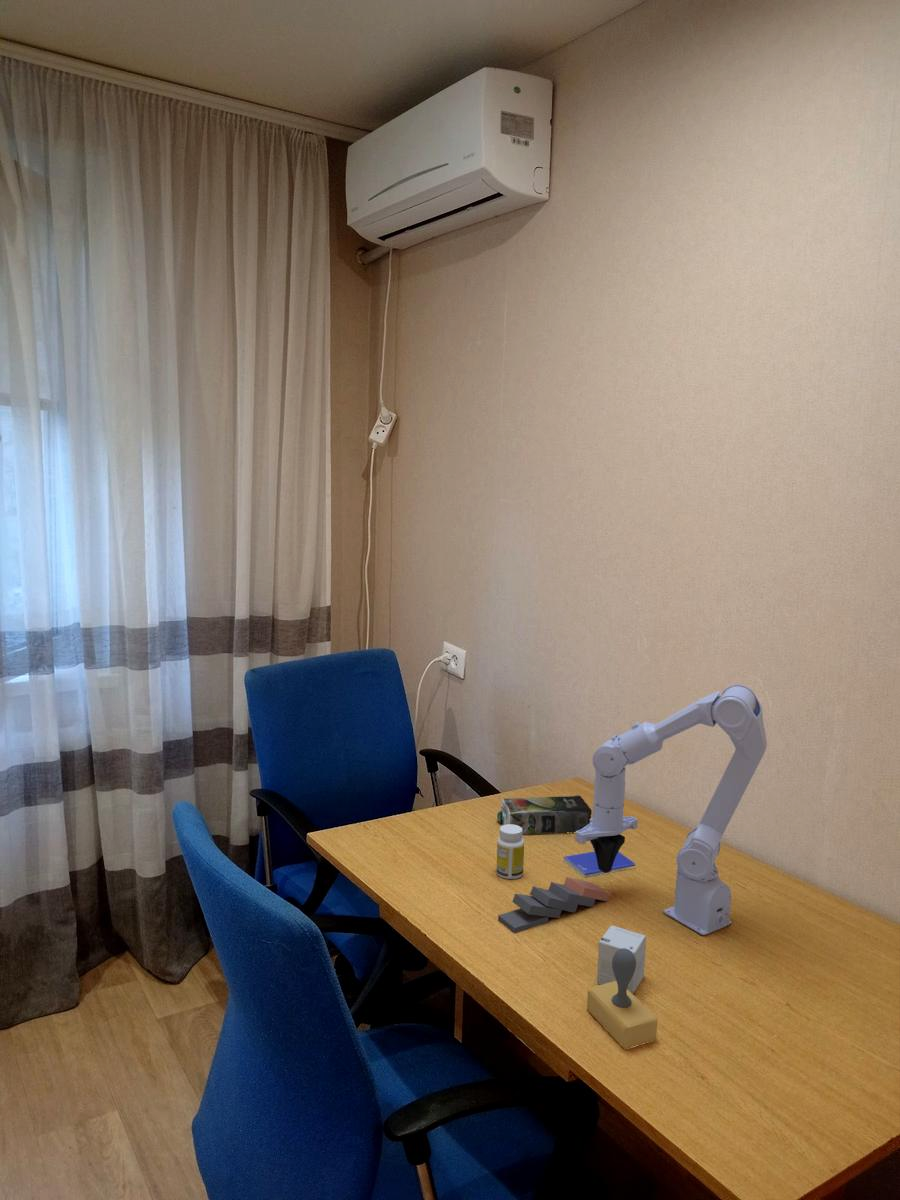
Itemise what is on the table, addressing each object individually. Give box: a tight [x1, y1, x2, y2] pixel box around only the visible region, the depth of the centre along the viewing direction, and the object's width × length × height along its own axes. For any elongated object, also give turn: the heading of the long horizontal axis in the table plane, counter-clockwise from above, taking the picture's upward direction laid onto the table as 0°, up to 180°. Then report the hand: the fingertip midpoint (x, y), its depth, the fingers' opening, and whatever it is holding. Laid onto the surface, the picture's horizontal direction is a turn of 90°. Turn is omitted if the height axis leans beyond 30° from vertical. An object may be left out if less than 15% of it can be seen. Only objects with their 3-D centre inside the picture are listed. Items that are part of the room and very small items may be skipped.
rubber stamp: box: [586, 948, 658, 1050], centre depth 124 cm, size 10×6×12 cm, turn 24°
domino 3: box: [529, 885, 579, 914], centre depth 156 cm, size 2×5×8 cm
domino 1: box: [512, 893, 563, 919], centre depth 154 cm, size 2×5×8 cm
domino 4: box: [548, 881, 596, 908], centre depth 158 cm, size 2×5×8 cm
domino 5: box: [563, 876, 611, 902], centre depth 160 cm, size 2×5×8 cm
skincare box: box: [596, 925, 647, 995], centre depth 135 cm, size 6×6×7 cm
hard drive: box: [562, 851, 636, 879], centre depth 176 cm, size 2×8×12 cm
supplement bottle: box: [495, 824, 525, 880], centre depth 170 cm, size 6×5×10 cm
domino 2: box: [497, 907, 549, 934], centre depth 152 cm, size 2×5×8 cm
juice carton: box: [496, 794, 593, 836], centre depth 194 cm, size 20×10×6 cm, turn 99°
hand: (604, 870), depth 162 cm, fingers closed
